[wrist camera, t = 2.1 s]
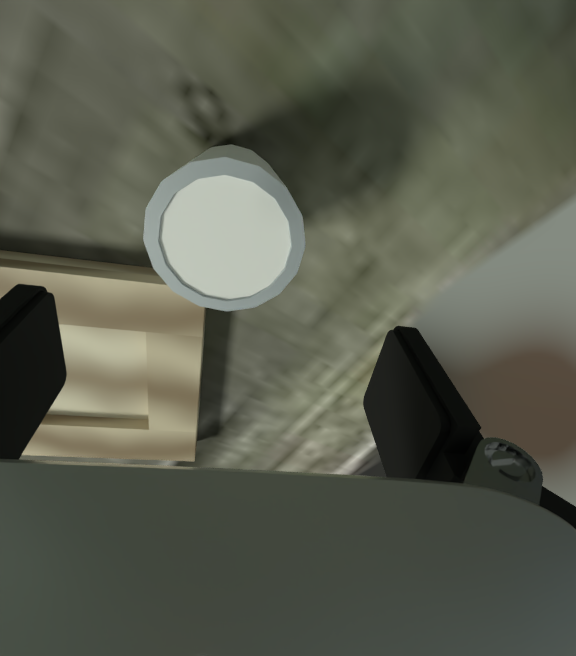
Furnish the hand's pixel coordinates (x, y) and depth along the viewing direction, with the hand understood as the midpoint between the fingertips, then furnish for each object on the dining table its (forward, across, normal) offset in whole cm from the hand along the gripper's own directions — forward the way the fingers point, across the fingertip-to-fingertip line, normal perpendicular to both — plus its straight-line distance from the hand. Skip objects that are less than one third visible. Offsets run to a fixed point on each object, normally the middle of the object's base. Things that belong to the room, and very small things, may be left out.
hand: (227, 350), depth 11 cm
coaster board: (+14, +10, +12) cm, 21 cm away
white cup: (+14, +1, -1) cm, 14 cm away
